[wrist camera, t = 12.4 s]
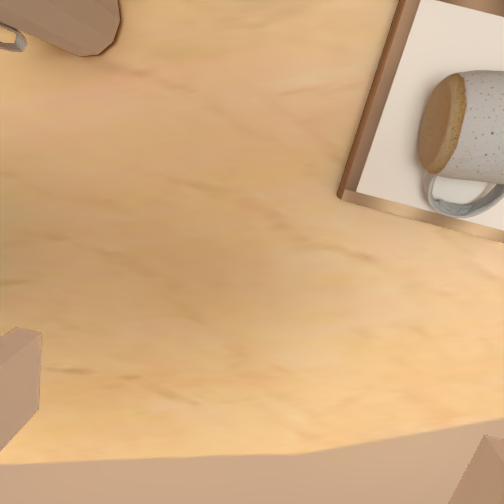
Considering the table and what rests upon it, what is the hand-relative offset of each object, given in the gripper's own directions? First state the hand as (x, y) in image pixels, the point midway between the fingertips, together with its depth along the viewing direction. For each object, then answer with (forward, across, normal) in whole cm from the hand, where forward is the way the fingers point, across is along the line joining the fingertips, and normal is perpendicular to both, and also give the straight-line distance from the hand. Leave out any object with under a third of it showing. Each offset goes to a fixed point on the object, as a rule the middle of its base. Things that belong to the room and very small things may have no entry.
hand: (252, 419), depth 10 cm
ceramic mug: (+23, +14, +11) cm, 29 cm away
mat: (+23, +14, +13) cm, 30 cm away
